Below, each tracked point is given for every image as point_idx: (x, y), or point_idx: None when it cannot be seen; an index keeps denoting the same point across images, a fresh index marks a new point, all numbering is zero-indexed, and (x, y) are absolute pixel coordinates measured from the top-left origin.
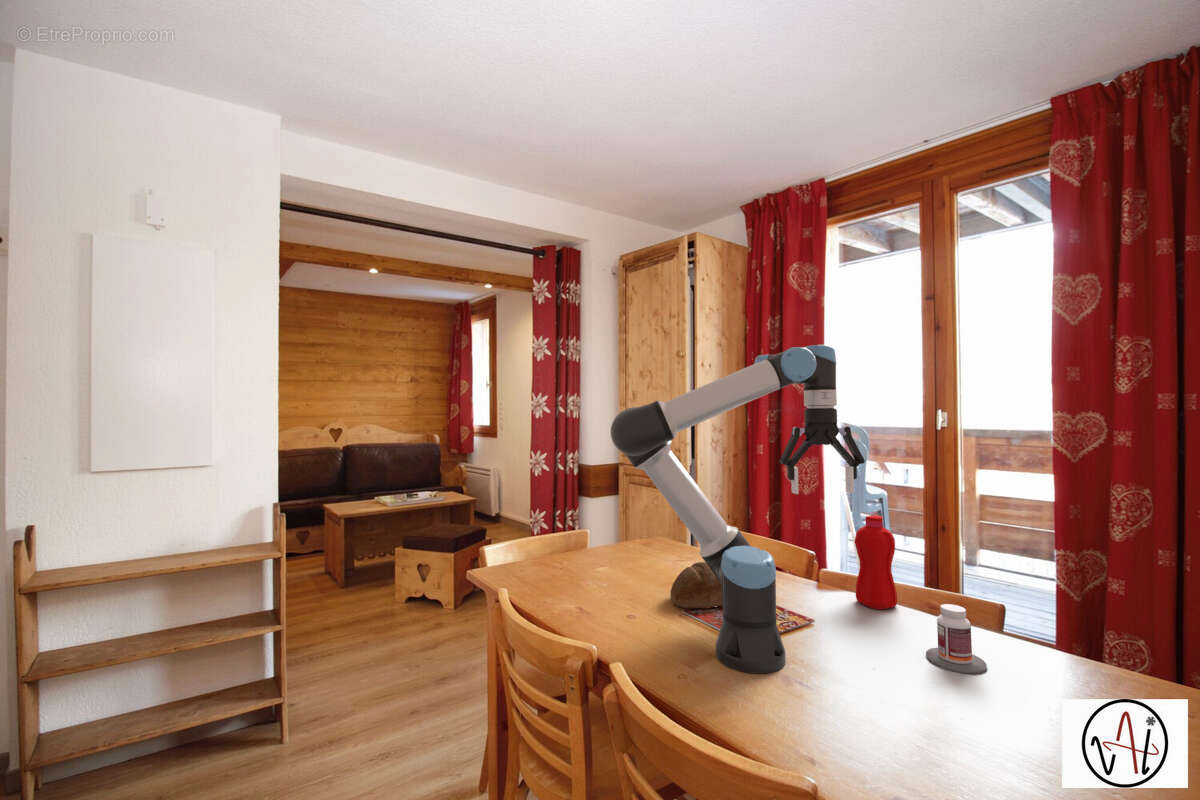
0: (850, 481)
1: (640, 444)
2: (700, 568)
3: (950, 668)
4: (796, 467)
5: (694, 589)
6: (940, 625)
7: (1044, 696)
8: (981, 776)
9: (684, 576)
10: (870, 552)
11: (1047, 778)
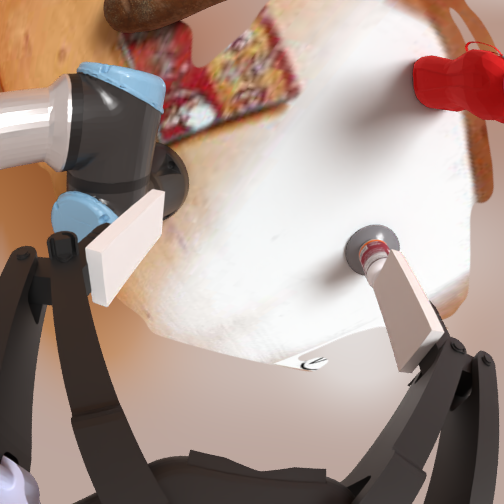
0: (384, 317)
1: None
2: None
3: (349, 264)
4: (101, 301)
5: (120, 26)
6: (367, 270)
7: (375, 311)
8: (238, 350)
9: (108, 3)
10: (461, 98)
11: (273, 359)
